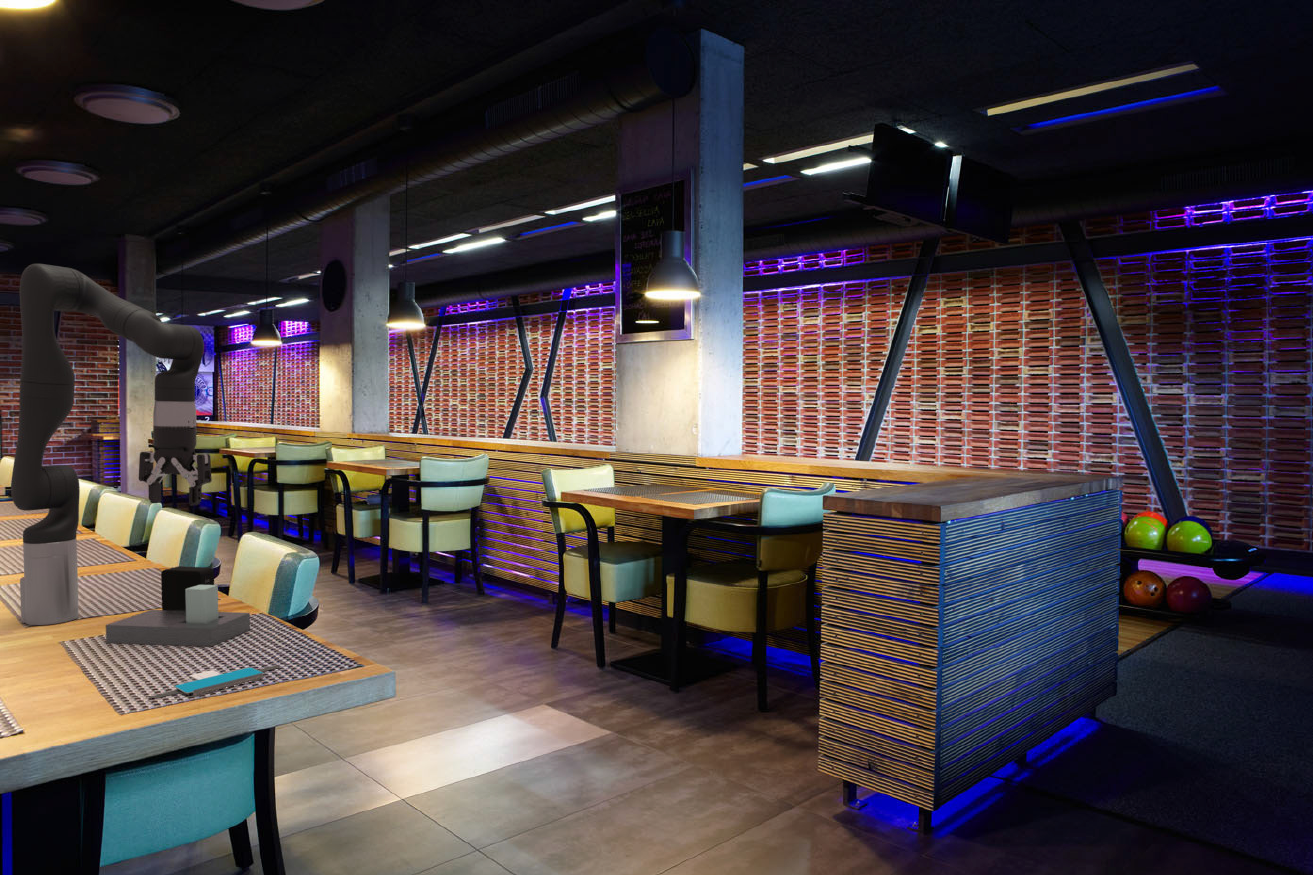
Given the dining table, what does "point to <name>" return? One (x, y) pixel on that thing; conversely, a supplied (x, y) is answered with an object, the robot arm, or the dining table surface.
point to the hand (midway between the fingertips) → (175, 503)
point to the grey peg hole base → (176, 629)
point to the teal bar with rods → (216, 681)
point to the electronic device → (182, 584)
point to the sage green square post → (201, 604)
